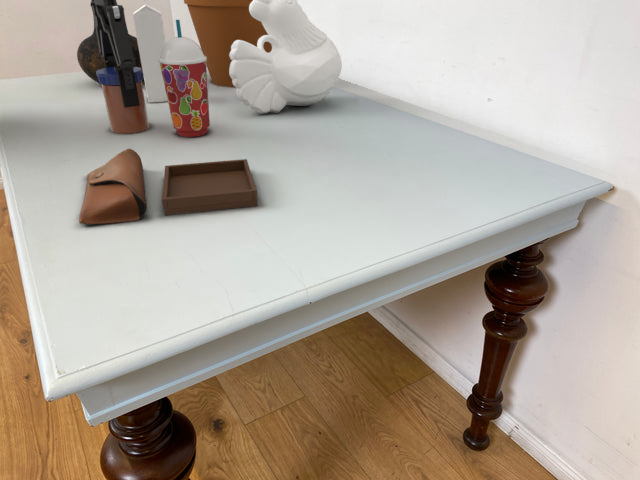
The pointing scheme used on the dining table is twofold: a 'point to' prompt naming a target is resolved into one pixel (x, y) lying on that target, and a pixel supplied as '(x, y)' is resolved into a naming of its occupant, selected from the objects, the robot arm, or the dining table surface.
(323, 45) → the decorative rooster
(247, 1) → the flowerpot
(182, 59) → the smoothie
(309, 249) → the dining table surface
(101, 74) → the lid
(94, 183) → the sunglasses case
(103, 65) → the dark brown vase
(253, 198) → the tray
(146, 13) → the milk
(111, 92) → the jar
